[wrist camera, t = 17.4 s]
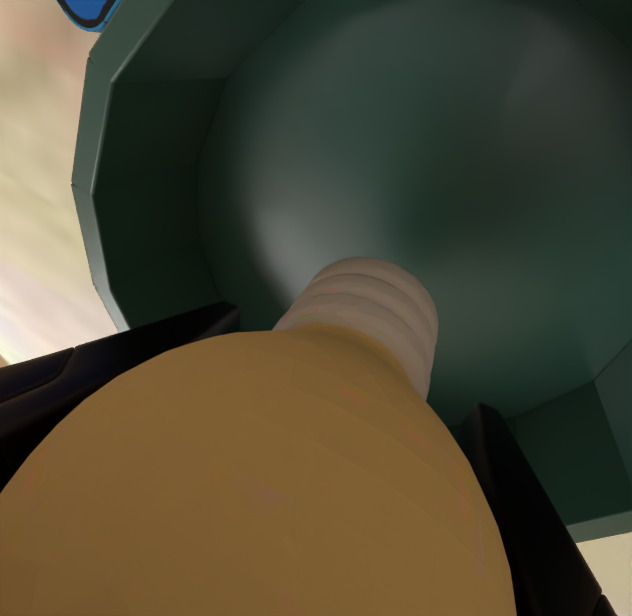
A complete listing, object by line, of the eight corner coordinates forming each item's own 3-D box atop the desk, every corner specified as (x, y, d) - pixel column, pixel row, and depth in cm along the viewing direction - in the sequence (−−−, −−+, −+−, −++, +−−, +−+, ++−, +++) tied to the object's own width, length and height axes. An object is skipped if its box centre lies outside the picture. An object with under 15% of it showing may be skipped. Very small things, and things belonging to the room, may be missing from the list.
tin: (973, 12, 7) (1706, -65, 3) (512, 479, 16) (522, 609, 12) (182, -118, 9) (-27, -246, 6) (193, 343, 19) (121, 414, 15)
